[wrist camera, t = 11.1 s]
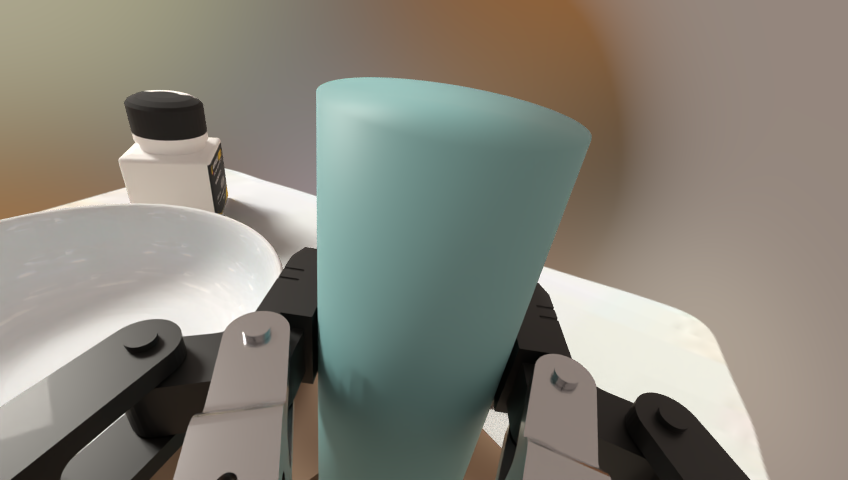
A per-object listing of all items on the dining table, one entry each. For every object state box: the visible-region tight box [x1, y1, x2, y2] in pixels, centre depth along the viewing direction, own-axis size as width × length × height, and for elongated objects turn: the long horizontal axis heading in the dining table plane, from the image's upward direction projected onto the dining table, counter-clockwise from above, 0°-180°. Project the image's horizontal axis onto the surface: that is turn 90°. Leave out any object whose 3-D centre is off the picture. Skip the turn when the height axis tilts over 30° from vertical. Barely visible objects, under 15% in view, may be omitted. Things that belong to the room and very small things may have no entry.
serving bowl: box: [0, 203, 283, 457], centre depth 22 cm, size 21×21×7 cm
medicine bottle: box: [119, 90, 228, 215], centre depth 37 cm, size 7×7×12 cm
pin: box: [316, 77, 591, 480], centre depth 10 cm, size 5×5×14 cm
